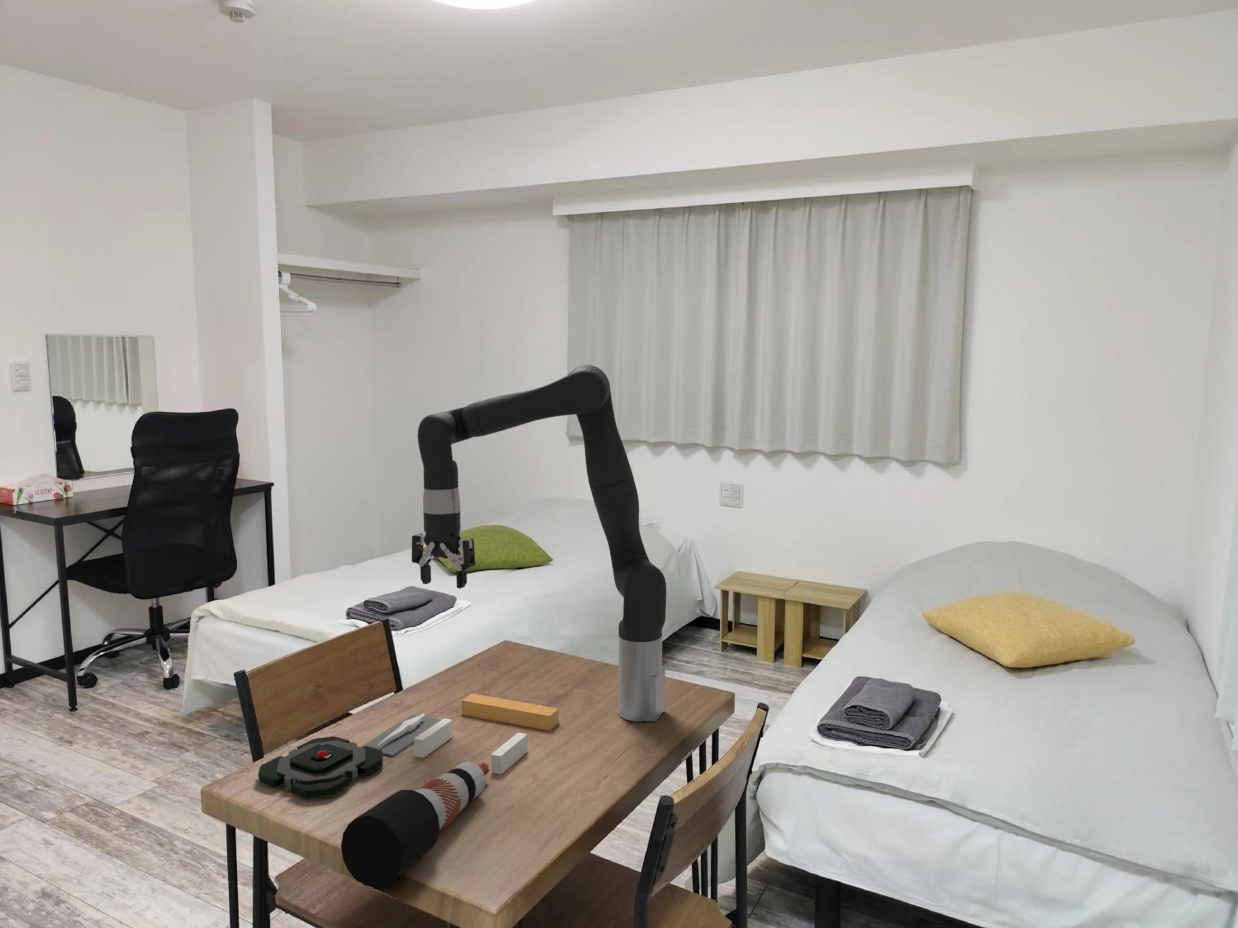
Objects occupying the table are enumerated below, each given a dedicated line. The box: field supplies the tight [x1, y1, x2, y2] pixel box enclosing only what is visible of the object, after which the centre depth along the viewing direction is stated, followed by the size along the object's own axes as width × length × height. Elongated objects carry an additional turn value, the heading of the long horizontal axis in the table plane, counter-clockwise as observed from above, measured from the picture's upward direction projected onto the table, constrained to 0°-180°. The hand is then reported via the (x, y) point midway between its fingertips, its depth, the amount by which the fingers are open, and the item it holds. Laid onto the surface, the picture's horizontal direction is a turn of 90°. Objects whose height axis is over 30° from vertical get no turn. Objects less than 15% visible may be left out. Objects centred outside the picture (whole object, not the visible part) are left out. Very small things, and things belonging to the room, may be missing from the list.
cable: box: [340, 761, 491, 889], centre depth 137 cm, size 10×34×10 cm, turn 159°
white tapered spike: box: [378, 713, 426, 746], centre depth 171 cm, size 15×3×2 cm, turn 157°
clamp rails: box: [413, 718, 529, 775], centre depth 163 cm, size 19×10×4 cm, turn 67°
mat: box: [360, 713, 442, 758], centre depth 172 cm, size 8×17×1 cm, turn 157°
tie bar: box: [461, 693, 560, 731], centre depth 179 cm, size 21×4×4 cm, turn 67°
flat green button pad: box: [257, 735, 384, 799], centre depth 156 cm, size 18×18×5 cm
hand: (443, 585), depth 179 cm, fingers open, 8 cm apart
